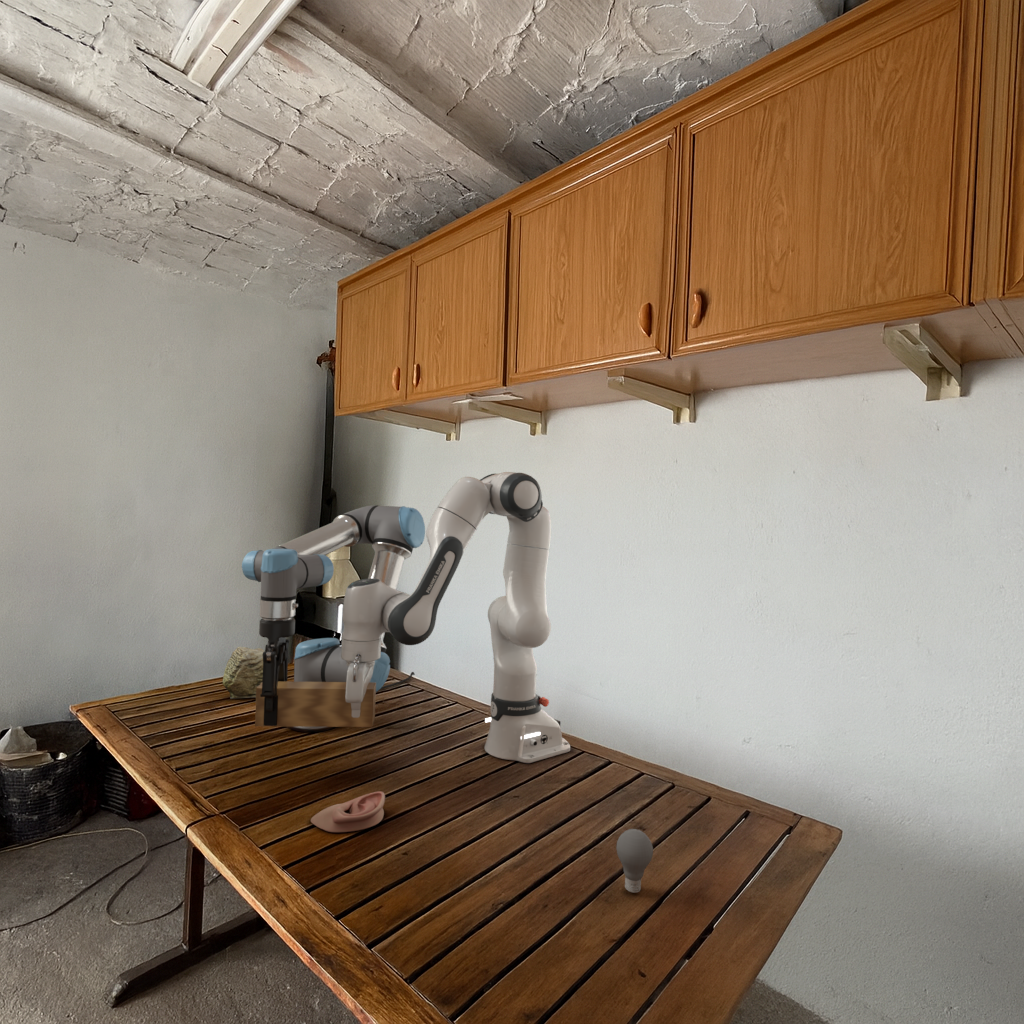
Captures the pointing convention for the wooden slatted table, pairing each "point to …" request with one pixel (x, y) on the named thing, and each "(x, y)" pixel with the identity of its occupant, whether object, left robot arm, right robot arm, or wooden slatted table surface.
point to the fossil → (244, 672)
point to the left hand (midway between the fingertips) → (273, 720)
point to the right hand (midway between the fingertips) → (358, 710)
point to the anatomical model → (352, 814)
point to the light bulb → (634, 857)
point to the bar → (317, 705)
